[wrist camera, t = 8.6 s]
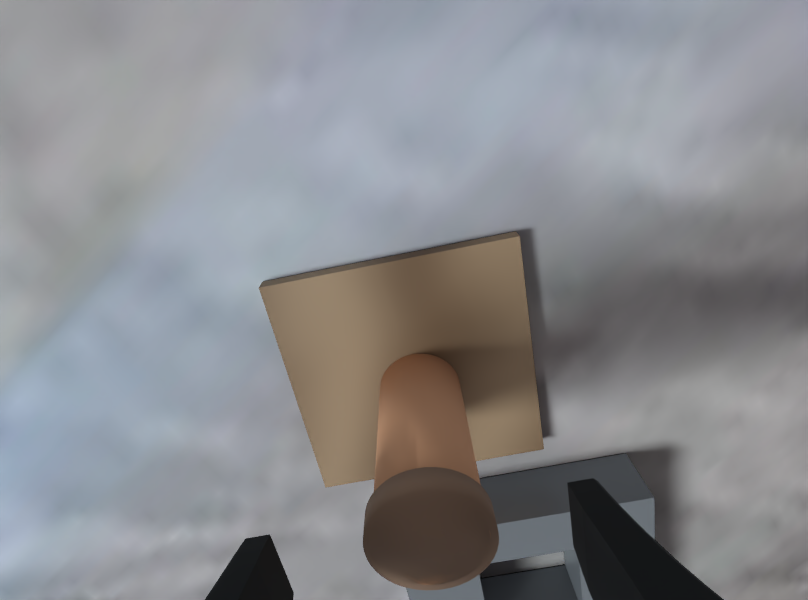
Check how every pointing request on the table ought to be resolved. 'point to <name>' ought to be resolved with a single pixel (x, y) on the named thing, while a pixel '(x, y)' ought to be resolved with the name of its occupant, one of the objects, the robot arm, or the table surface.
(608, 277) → the table surface
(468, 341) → the coaster
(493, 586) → the socket
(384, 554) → the plug
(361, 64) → the table surface
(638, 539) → the robot arm
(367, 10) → the table surface
